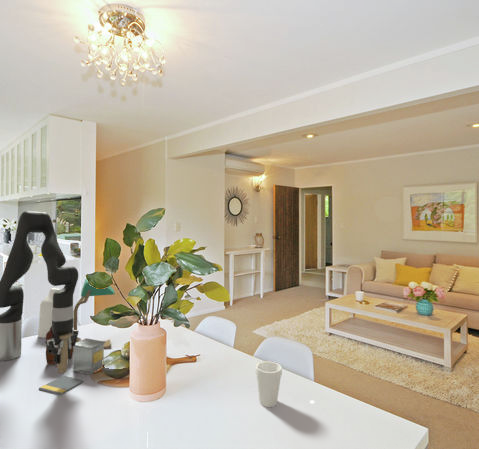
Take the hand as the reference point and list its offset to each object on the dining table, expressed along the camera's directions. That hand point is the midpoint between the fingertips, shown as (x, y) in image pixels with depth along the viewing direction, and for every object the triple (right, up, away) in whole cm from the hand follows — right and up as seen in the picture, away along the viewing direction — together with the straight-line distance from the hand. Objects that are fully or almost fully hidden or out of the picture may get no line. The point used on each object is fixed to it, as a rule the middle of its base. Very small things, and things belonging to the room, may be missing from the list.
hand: (62, 360), depth 127 cm
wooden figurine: (-13, -10, +23) cm, 28 cm away
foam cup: (+80, -12, -9) cm, 82 cm away
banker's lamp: (-6, -10, +38) cm, 40 cm away
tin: (+4, -10, +14) cm, 18 cm away
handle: (0, -4, 0) cm, 4 cm away
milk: (-35, -9, +56) cm, 66 cm away
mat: (0, -10, 0) cm, 10 cm away
